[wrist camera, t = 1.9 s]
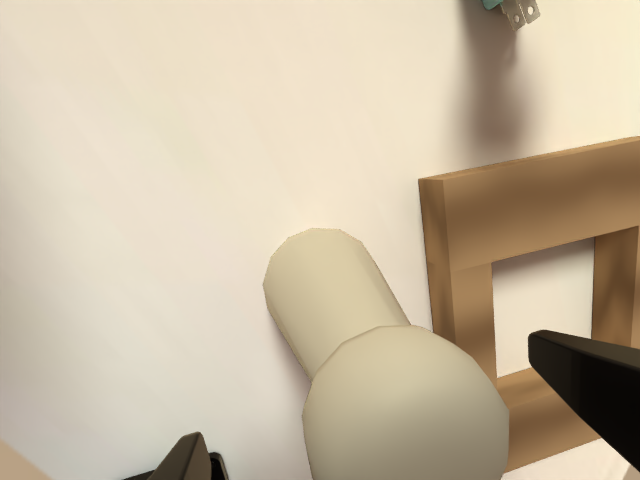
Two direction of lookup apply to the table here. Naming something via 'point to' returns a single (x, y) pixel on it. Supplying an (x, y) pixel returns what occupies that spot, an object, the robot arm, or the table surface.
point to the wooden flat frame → (524, 237)
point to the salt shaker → (379, 373)
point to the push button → (515, 10)
